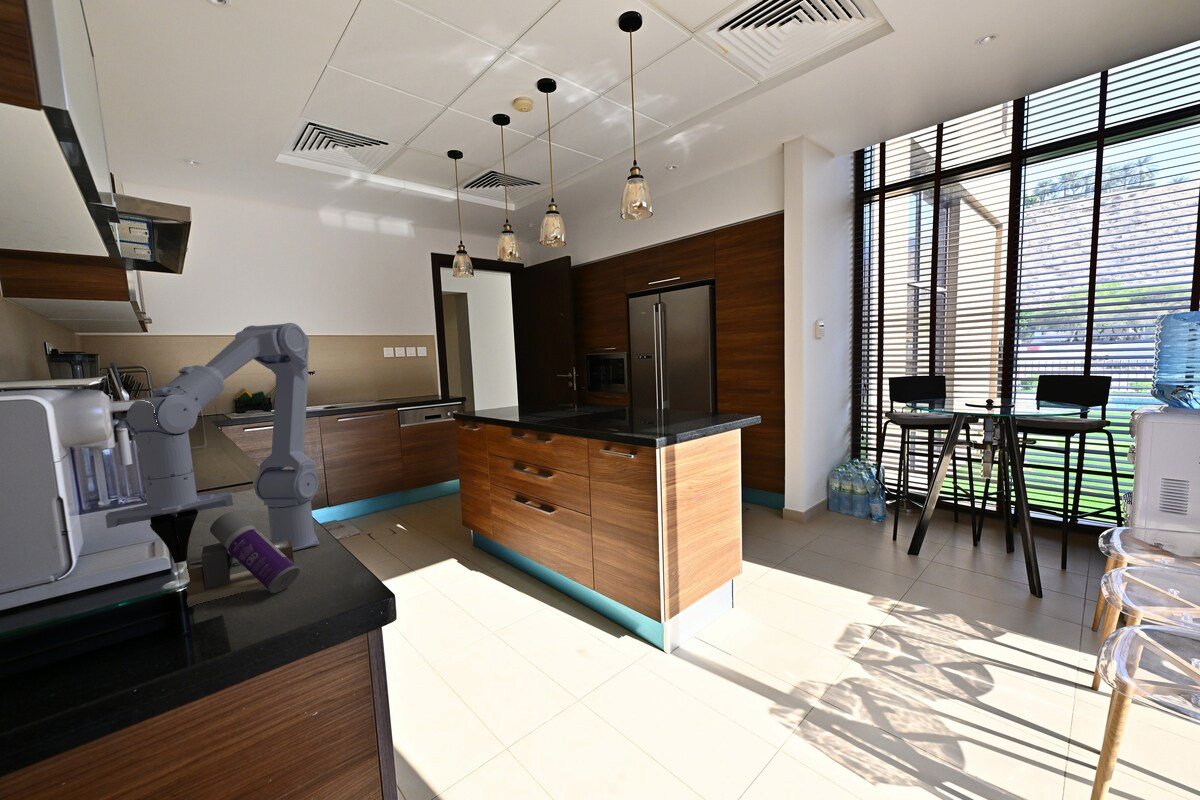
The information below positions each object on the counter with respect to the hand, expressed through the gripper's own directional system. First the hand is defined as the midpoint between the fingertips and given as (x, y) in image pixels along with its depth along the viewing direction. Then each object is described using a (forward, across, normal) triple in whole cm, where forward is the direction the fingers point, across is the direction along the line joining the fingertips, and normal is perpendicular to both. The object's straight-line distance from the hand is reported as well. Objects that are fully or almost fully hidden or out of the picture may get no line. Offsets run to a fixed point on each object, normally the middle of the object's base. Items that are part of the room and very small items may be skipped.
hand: (181, 560), depth 74 cm
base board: (+6, +7, 0) cm, 10 cm away
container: (+5, +13, -9) cm, 16 cm away
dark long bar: (+3, +7, 0) cm, 8 cm away
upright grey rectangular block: (+5, +4, 0) cm, 6 cm away
